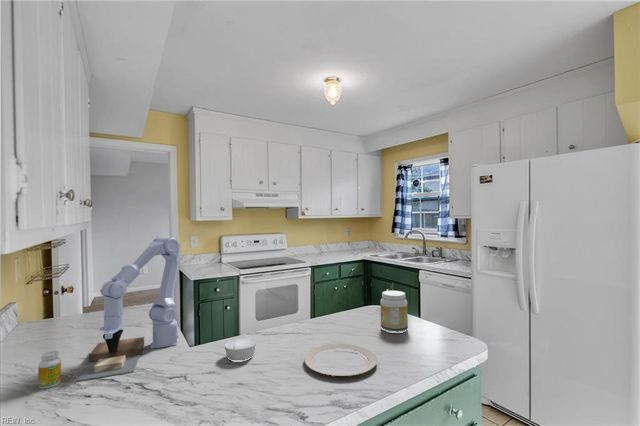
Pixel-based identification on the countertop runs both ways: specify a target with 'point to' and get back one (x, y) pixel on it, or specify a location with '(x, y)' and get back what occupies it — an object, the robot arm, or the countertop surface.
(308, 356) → the plate
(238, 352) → the ramekin
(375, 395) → the countertop surface
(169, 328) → the robot arm
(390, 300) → the supplement tub
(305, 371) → the countertop surface
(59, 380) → the supplement bottle
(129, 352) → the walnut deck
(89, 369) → the grey flat slab
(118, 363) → the birch tile
